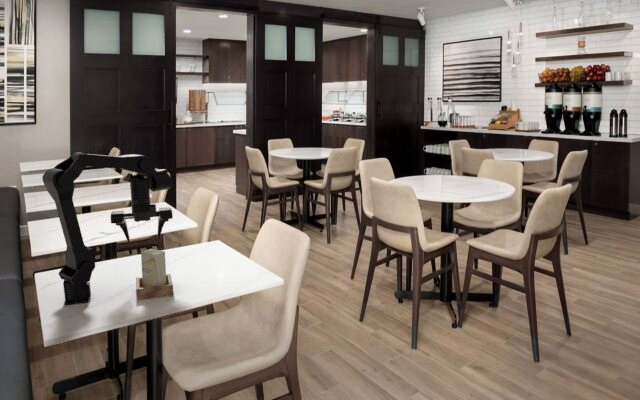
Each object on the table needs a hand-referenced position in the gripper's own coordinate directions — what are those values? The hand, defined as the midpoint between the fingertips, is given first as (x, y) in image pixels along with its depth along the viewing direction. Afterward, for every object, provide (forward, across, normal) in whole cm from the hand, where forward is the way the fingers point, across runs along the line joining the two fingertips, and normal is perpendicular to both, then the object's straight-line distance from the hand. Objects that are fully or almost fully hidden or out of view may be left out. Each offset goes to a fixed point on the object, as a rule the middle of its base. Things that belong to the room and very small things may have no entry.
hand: (143, 240), depth 172 cm
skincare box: (+12, +2, -13) cm, 18 cm away
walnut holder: (+13, +2, -13) cm, 18 cm away
